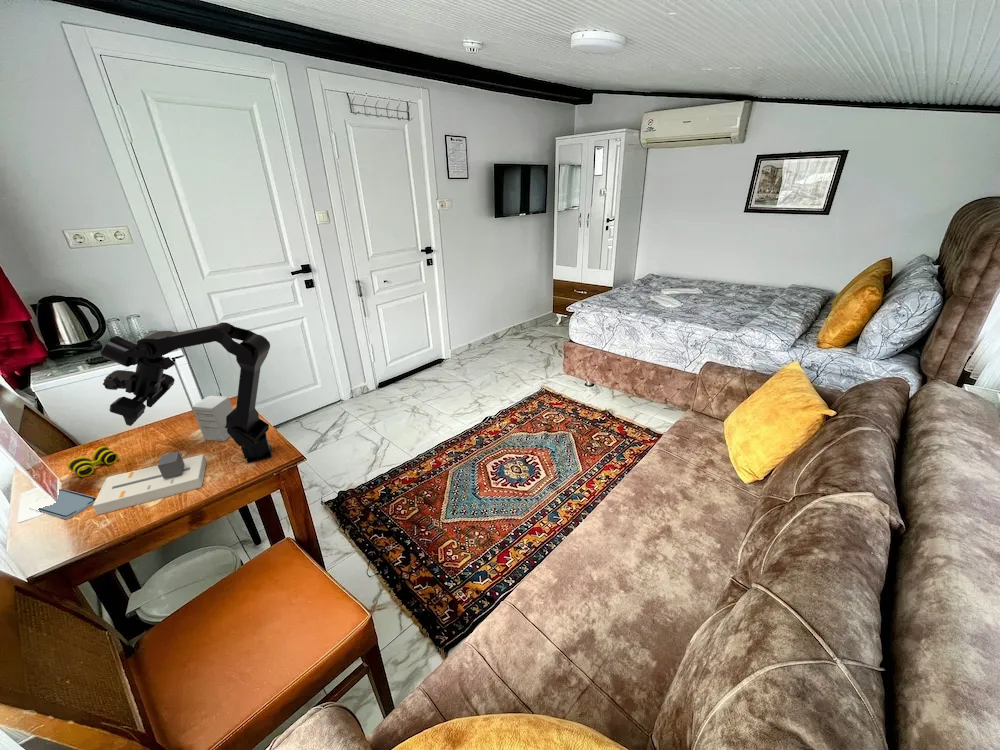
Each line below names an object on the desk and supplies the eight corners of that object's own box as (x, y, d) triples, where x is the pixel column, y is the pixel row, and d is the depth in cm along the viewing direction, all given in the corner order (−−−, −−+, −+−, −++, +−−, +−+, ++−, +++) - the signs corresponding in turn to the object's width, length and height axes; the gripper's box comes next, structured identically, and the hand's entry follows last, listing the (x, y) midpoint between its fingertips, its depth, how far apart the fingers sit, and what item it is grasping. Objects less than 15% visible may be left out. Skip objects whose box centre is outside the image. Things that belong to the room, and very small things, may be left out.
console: (206, 462, 121) (203, 454, 120) (201, 487, 112) (197, 478, 110) (111, 485, 112) (107, 477, 111) (97, 514, 102) (92, 505, 101)
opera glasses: (81, 481, 115) (75, 469, 112) (70, 473, 116) (64, 461, 114) (122, 462, 123) (117, 449, 120) (111, 454, 124) (106, 442, 122)
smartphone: (61, 488, 111) (99, 498, 107) (62, 490, 111) (101, 500, 107) (26, 506, 104) (65, 518, 101) (28, 509, 105) (67, 521, 101)
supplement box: (220, 427, 138) (208, 394, 132) (240, 429, 137) (229, 396, 132) (203, 439, 132) (190, 406, 126) (224, 441, 131) (212, 408, 125)
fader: (184, 464, 115) (179, 451, 113) (181, 474, 111) (175, 461, 109) (167, 468, 114) (161, 455, 112) (163, 478, 110) (157, 465, 108)
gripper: (136, 346, 117) (127, 388, 123) (88, 379, 101) (81, 425, 106) (180, 361, 121) (169, 401, 126) (141, 395, 105) (131, 439, 110)
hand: (139, 415), depth 117 cm, fingers open, 9 cm apart
